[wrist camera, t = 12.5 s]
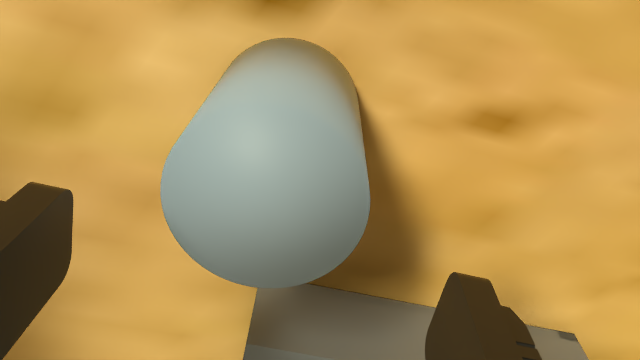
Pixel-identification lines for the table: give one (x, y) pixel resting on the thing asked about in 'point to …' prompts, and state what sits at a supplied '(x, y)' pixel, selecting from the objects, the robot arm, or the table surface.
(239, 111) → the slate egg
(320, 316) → the tote
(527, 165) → the table surface
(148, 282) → the table surface
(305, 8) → the table surface
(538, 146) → the table surface
